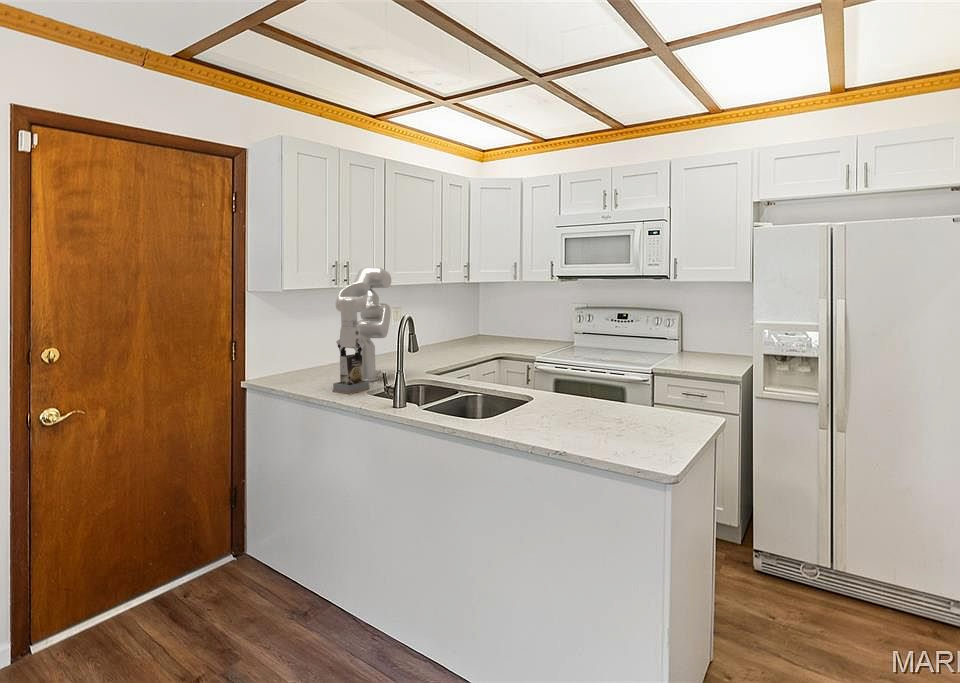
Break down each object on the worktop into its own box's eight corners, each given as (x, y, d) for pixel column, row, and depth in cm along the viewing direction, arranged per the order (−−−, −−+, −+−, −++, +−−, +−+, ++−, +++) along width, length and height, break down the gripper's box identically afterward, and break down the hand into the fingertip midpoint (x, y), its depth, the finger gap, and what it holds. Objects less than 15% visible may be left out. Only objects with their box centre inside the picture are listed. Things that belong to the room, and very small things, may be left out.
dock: (353, 386, 282) (353, 378, 281) (369, 389, 276) (369, 381, 275) (332, 391, 270) (332, 383, 270) (349, 394, 265) (349, 386, 264)
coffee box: (349, 390, 268) (348, 357, 266) (340, 389, 271) (339, 355, 269) (363, 387, 275) (362, 354, 273) (354, 386, 279) (353, 353, 277)
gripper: (368, 324, 268) (369, 360, 270) (342, 322, 277) (343, 356, 279) (356, 326, 261) (358, 362, 264) (330, 323, 271) (332, 359, 273)
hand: (350, 359), depth 272 cm, fingers open, 9 cm apart
